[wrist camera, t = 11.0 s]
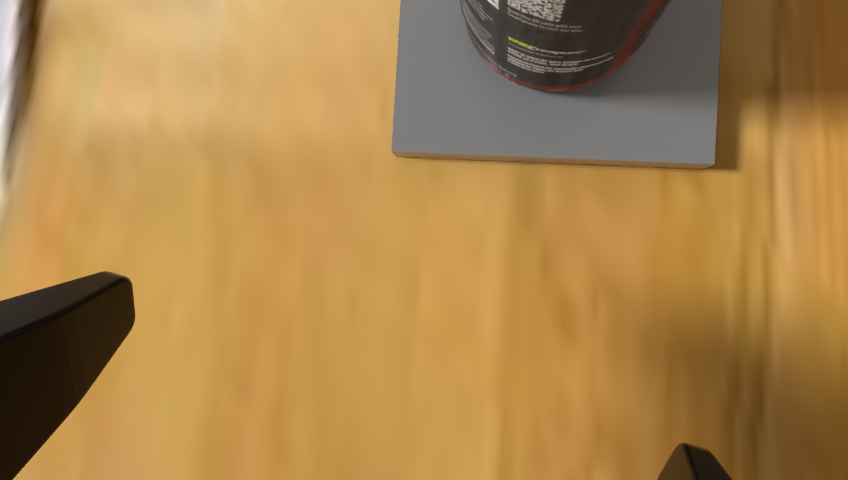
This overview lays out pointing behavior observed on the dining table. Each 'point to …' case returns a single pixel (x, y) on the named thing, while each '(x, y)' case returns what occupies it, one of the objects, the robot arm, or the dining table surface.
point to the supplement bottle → (559, 38)
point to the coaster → (559, 97)
